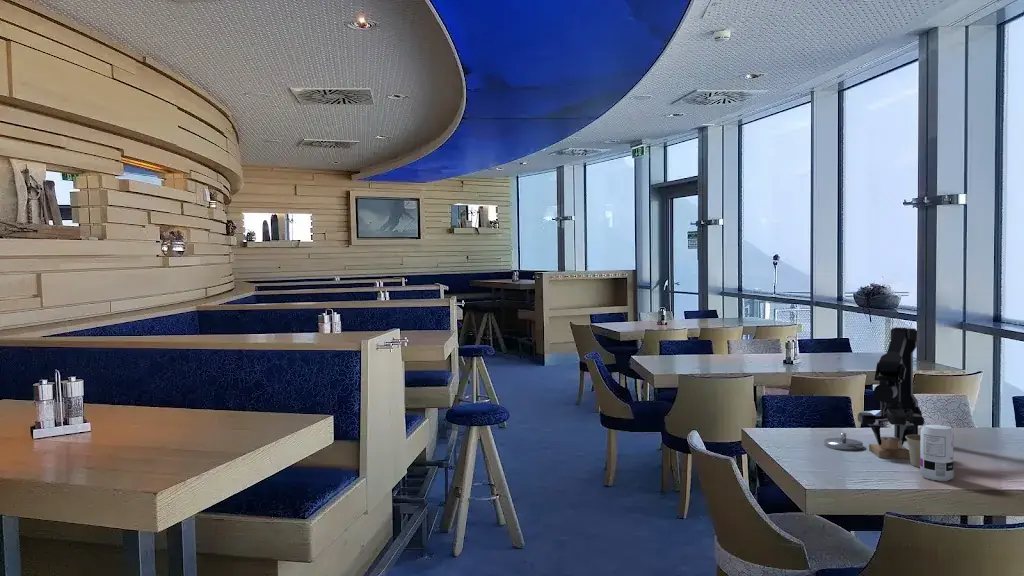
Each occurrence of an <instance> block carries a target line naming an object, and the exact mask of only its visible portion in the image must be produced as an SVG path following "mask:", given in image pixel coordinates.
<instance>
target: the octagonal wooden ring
mask: <svg viewBox="0 0 1024 576" xmlns="http://www.w3.org/2000/svg"><path fill="white" fill-rule="evenodd" d="M880 437H881V445H879V447H880V448H881V449H885V450H891V451H899V450H902V440H901V439H899V438H896V437H895V436H894V437H893V436H892V437H891V436H880ZM888 439H893V440H888Z"/></svg>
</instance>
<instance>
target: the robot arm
mask: <svg viewBox="0 0 1024 576" xmlns="http://www.w3.org/2000/svg"><path fill="white" fill-rule="evenodd" d="M889 337H890V338H889V344H888V348H887V351H886V353H884V354H882V355H881V356H880V359H879V361H877V363H876V368H875V373H874V378H873V380H874V381H876V382H879V384H877V385H876V386H875V387H874V389H873V392H872V393H873V396H874V398H875V399H876V400H877V401H878V402H879V403H880V411H879V415H875V414H873V413H871V412H859V413H858V414H857V421H858V422H859V423H860V424H863V425H868V426H869V427H870V428H871V430H872V432H873V434H874V437H875V440H876V442H877V444H879V445H881V437H882V436H881V425H880V423H879V422H885V423H886V422H887V423H889V424H890V425H893V426H894V434H893V436H894V438H899V439H901V440H902V446H904V443H905V441H907V439H906V438H905V436H907V435H919V426H922V427H923V425H924V424H925V418H924V417H923V413H922V410H921V407H920V406H919V400H918V399H917V397H916V396H915V394H914V392H913V391H914V372H913V369H914V368H913V367H914V366H913V365H914V360H913V358H914V355H913V354H914V351H916V349H917V347H918V346H919V342H920V341H921V340H920V339H921V333H920V331H919V330H917V329H916V328H911V327H910V328H909V327H896V326H895V327H892V328H891V329H890V334H889Z"/></svg>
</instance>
